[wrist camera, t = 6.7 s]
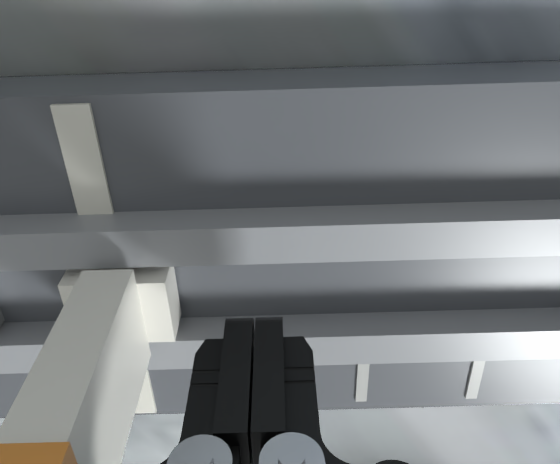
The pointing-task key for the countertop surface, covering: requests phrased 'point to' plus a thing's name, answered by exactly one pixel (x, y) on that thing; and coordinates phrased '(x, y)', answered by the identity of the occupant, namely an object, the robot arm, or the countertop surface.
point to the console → (301, 220)
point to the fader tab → (91, 367)
